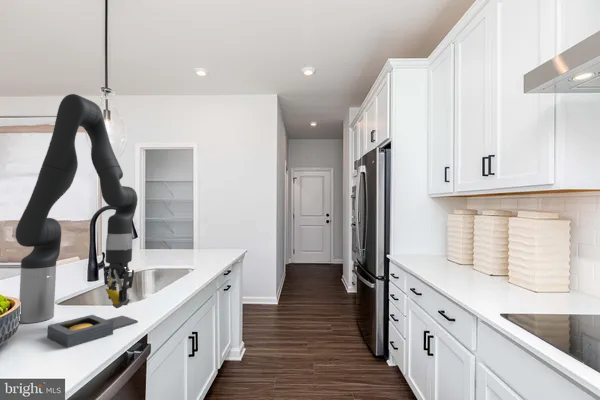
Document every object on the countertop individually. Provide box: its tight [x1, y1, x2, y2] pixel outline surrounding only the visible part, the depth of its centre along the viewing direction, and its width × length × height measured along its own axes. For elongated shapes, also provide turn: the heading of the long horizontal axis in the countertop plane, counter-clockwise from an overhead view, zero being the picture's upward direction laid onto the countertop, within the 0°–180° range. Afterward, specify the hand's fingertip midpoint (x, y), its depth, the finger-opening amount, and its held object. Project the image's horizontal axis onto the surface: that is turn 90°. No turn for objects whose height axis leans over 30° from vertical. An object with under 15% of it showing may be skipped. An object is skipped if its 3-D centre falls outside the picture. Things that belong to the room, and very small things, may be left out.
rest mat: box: [106, 315, 139, 331], centre depth 107 cm, size 9×9×1 cm
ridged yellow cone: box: [104, 288, 131, 309], centre depth 107 cm, size 5×5×10 cm
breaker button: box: [69, 324, 92, 331], centre depth 96 cm, size 6×6×2 cm
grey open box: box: [46, 314, 114, 349], centre depth 96 cm, size 12×12×4 cm
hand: (117, 299), depth 107 cm, fingers closed on ridged yellow cone, 5 cm apart
